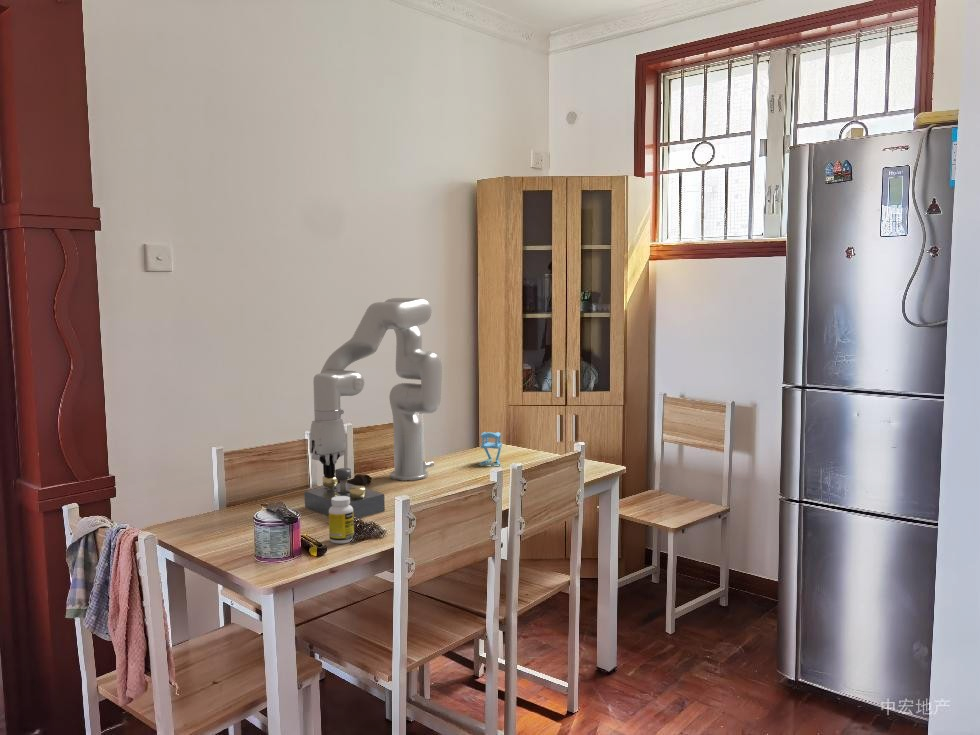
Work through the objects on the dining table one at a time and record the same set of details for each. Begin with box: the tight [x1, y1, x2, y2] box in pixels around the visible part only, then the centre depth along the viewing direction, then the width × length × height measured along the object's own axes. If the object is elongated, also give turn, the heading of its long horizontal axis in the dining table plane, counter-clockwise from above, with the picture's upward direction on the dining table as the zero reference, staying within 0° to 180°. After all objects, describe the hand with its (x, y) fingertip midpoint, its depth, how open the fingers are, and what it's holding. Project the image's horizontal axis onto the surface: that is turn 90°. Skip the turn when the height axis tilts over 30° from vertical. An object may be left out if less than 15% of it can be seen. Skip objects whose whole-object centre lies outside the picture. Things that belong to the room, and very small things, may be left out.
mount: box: [304, 483, 385, 519], centre depth 230 cm, size 14×20×5 cm
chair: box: [478, 431, 503, 468], centre depth 285 cm, size 8×8×12 cm
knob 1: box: [322, 476, 338, 490], centre depth 235 cm, size 4×4×8 cm
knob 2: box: [350, 486, 366, 499], centre depth 225 cm, size 4×4×8 cm
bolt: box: [338, 474, 373, 488], centre depth 252 cm, size 6×5×15 cm
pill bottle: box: [328, 496, 355, 545], centre depth 202 cm, size 6×6×11 cm
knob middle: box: [335, 467, 352, 495], centre depth 230 cm, size 4×4×8 cm
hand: (329, 477), depth 234 cm, fingers closed
